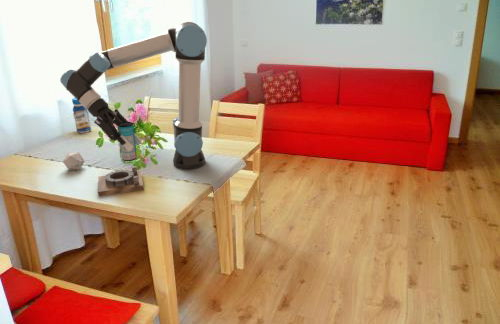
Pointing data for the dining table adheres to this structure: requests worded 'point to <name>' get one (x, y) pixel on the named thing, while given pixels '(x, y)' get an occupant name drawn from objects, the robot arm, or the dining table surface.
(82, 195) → the dining table surface
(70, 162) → the die
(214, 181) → the dining table surface
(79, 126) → the beverage bottle
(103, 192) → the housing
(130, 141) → the beverage can
